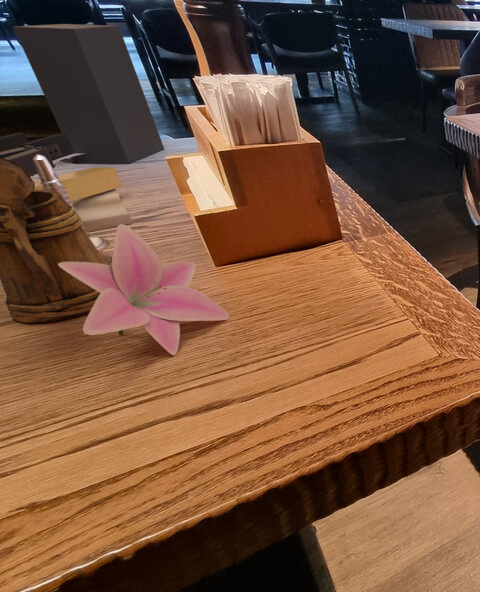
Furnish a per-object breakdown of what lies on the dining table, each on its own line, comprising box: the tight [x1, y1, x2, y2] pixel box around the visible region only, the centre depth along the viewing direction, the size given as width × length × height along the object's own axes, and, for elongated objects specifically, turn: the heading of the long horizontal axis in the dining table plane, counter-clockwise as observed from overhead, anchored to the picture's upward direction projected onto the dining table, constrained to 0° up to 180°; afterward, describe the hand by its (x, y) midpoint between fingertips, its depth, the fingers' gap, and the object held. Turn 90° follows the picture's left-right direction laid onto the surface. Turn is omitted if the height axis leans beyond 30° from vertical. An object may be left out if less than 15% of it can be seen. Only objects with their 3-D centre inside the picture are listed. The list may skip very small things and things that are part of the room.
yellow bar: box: [33, 166, 123, 202], centre depth 72 cm, size 19×3×3 cm, turn 7°
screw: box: [33, 154, 111, 261], centre depth 59 cm, size 13×5×5 cm
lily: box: [58, 224, 231, 356], centre depth 48 cm, size 12×12×10 cm
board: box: [71, 188, 133, 233], centre depth 75 cm, size 16×8×2 cm, turn 44°
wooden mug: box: [0, 158, 109, 324], centre depth 49 cm, size 9×14×18 cm, turn 35°
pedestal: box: [12, 23, 165, 165], centre depth 96 cm, size 11×9×22 cm
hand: (46, 143), depth 71 cm, fingers open, 4 cm apart
